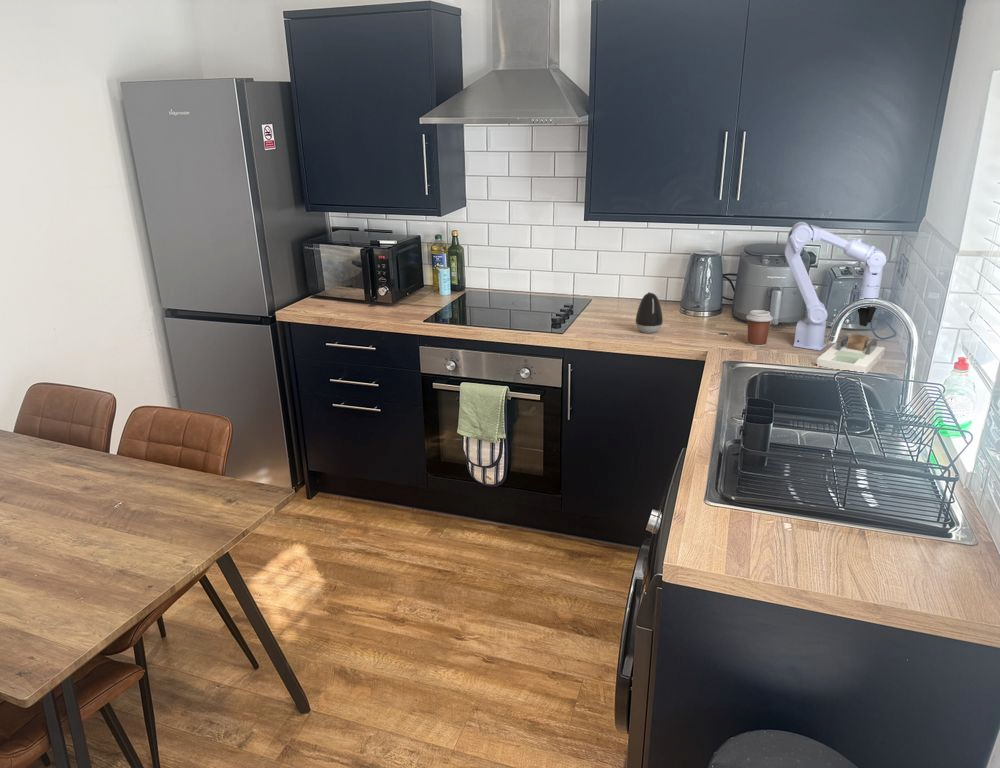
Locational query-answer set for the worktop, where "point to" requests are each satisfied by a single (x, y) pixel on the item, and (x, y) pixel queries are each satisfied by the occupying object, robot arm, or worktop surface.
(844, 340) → the channel walls
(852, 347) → the walnut block
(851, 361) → the channel board
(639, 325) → the black and white egg-shape
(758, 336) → the coffee cup
